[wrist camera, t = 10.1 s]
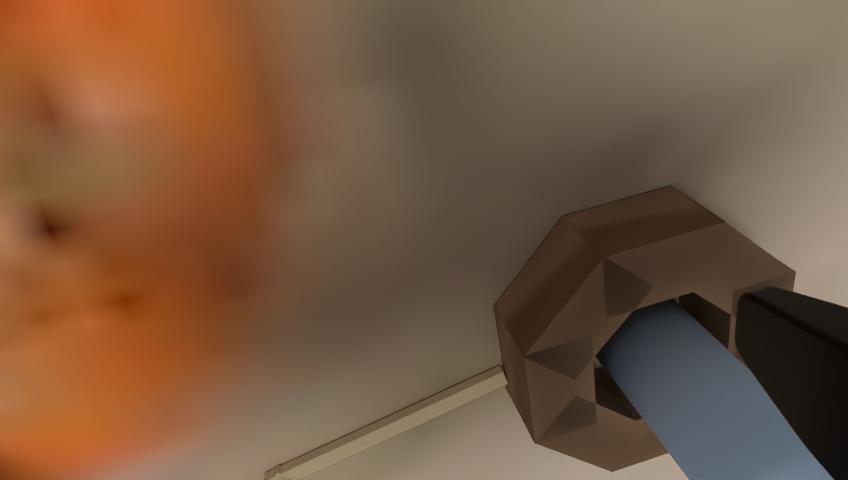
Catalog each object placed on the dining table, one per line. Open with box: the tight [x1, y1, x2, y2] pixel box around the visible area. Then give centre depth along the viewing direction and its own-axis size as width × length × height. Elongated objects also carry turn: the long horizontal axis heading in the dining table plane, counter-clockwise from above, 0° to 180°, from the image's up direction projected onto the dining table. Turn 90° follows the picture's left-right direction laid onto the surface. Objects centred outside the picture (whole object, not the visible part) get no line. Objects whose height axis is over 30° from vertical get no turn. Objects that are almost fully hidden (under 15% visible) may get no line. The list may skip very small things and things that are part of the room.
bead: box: [494, 186, 796, 472], centre depth 23 cm, size 10×10×3 cm
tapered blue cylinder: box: [595, 298, 834, 480], centre depth 21 cm, size 4×4×9 cm
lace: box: [265, 365, 508, 480], centre depth 24 cm, size 15×3×1 cm, turn 122°
